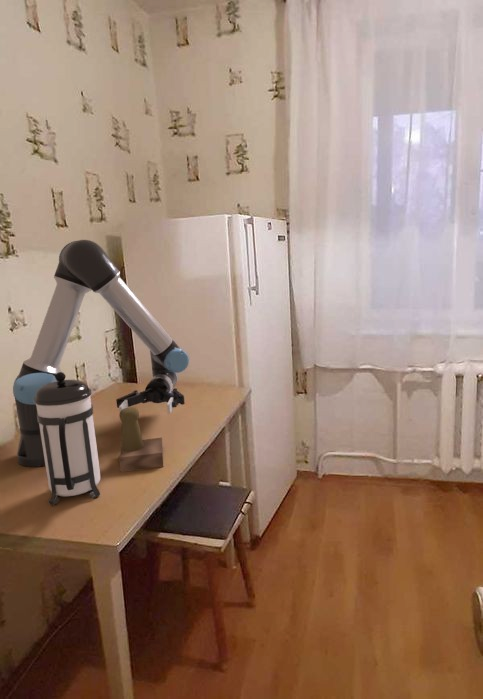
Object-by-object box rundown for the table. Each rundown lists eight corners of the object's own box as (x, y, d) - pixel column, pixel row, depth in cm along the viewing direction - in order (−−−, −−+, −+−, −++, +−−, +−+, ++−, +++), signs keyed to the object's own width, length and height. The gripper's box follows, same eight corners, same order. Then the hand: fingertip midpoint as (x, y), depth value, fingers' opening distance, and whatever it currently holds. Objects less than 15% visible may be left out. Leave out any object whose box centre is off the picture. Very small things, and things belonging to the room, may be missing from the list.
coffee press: (26, 499, 120) (7, 378, 114) (82, 473, 133) (67, 362, 127) (72, 518, 110) (53, 386, 104) (127, 487, 123) (113, 368, 117)
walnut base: (120, 471, 132) (119, 457, 131) (123, 455, 142) (122, 442, 142) (163, 466, 133) (161, 452, 133) (163, 450, 144) (161, 437, 143)
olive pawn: (146, 442, 140) (142, 404, 138) (140, 451, 134) (136, 412, 132) (125, 442, 141) (121, 405, 139) (118, 451, 135) (113, 412, 133)
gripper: (198, 398, 163) (189, 420, 142) (122, 402, 164) (102, 424, 143) (196, 375, 161) (187, 395, 140) (119, 379, 162) (99, 399, 141)
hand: (144, 410), depth 142 cm, fingers open, 13 cm apart
